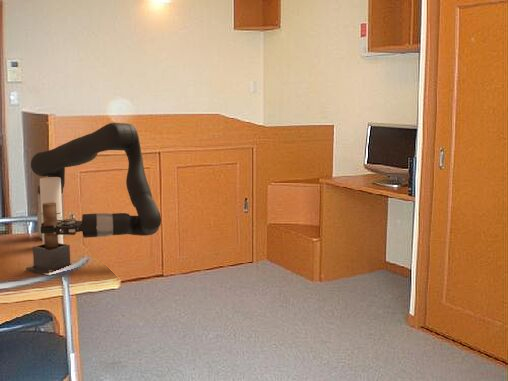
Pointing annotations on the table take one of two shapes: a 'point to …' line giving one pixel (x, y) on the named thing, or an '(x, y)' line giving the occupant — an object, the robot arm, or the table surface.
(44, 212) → the walnut rail
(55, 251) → the dark grey open box
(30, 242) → the table surface
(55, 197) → the cream tall block
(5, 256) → the table surface
